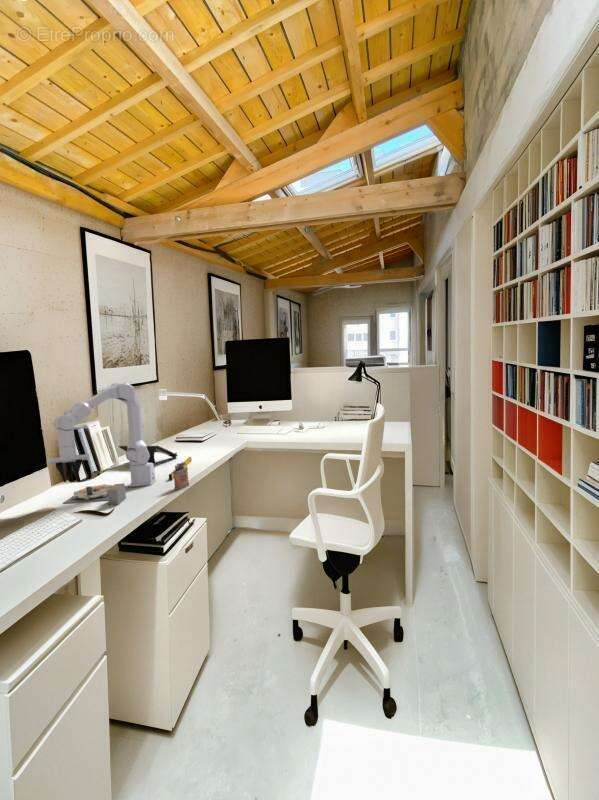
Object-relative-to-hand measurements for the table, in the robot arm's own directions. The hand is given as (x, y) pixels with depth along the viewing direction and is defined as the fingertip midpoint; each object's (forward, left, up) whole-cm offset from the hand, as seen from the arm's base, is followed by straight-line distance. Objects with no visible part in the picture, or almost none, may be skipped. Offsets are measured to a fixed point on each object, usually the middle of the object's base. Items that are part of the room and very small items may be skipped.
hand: (71, 480), depth 175 cm
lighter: (-39, -10, -9) cm, 41 cm away
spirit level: (-32, -39, -9) cm, 51 cm away
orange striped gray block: (-18, +4, -8) cm, 21 cm away
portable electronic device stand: (-12, -63, -9) cm, 65 cm away
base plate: (-5, -8, -8) cm, 13 cm away
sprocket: (-5, -8, -8) cm, 13 cm away
